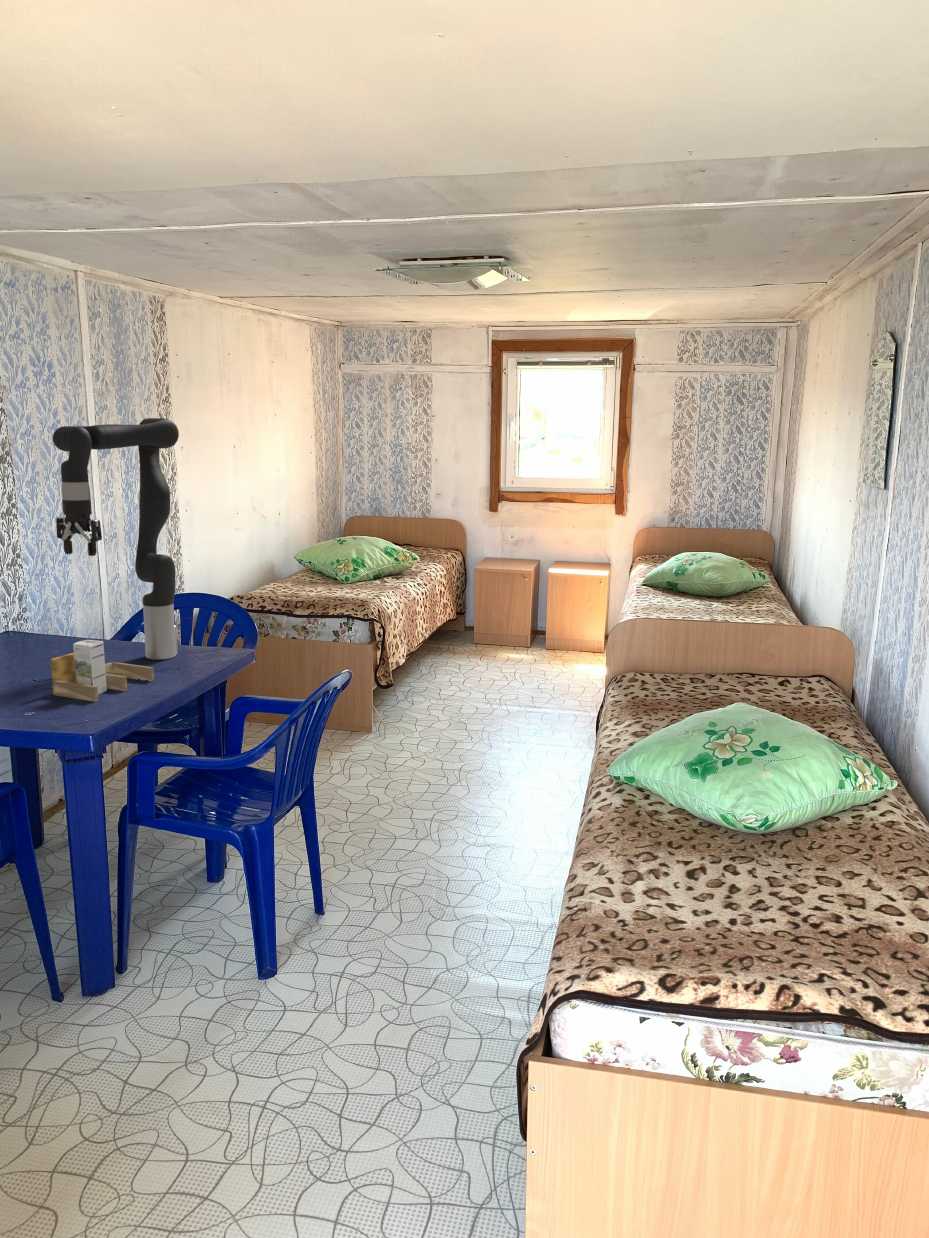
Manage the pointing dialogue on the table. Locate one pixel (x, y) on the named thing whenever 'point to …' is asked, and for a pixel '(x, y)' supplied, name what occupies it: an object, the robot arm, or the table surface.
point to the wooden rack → (69, 688)
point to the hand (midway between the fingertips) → (80, 554)
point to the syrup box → (90, 664)
